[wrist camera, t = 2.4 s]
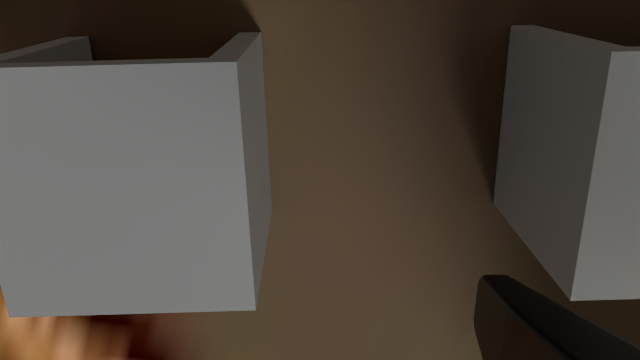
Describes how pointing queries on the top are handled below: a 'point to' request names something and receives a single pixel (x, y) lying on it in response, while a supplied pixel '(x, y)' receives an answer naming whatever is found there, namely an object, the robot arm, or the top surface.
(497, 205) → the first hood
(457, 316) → the top surface
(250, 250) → the grey arch block
